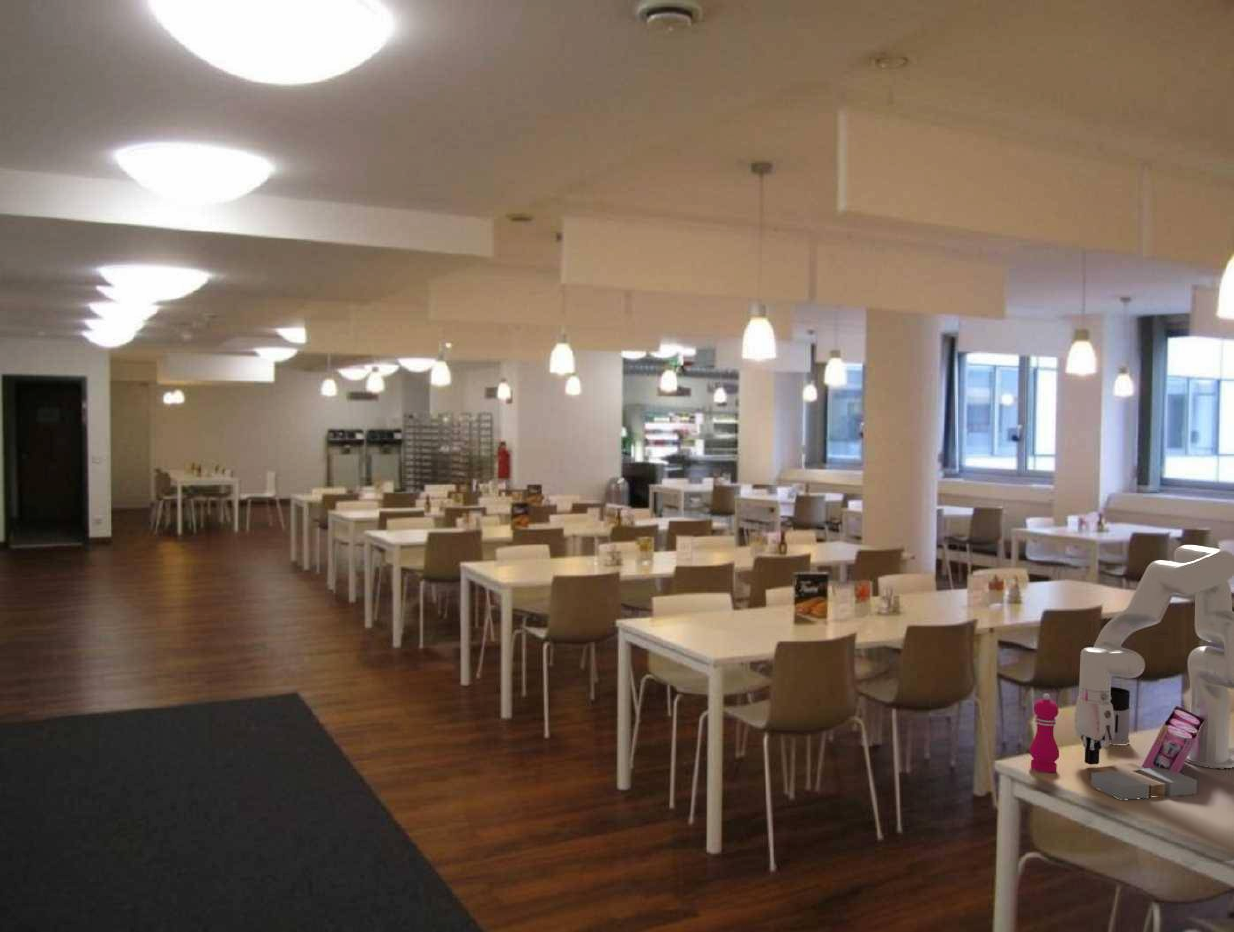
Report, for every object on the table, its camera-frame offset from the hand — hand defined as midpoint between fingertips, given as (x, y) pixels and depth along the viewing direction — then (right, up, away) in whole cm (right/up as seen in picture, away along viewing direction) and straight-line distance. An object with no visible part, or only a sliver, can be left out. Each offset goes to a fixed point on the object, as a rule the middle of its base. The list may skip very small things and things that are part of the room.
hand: (1091, 763), depth 263 cm
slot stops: (+5, -2, -17) cm, 18 cm away
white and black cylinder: (+16, -1, +23) cm, 28 cm away
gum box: (+19, -1, 0) cm, 19 cm away
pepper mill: (-14, -1, -2) cm, 14 cm away
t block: (+4, -2, -14) cm, 15 cm away
